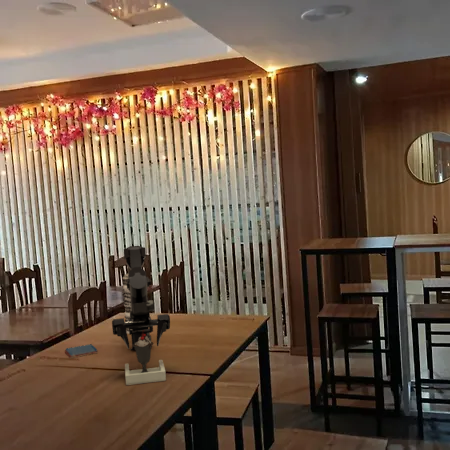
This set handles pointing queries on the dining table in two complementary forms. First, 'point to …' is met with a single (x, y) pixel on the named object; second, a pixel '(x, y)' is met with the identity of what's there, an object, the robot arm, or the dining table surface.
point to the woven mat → (81, 351)
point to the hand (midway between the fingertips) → (143, 347)
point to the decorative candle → (126, 300)
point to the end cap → (145, 375)
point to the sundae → (143, 350)
